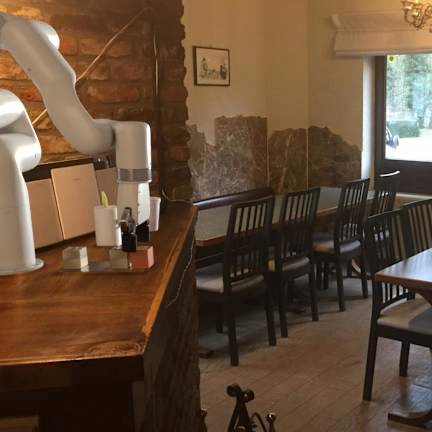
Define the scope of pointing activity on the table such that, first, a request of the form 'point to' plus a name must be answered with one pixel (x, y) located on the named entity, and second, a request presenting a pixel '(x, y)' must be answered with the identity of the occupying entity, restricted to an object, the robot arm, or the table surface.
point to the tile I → (74, 257)
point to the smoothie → (154, 213)
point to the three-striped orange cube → (142, 257)
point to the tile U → (119, 258)
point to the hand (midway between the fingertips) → (136, 246)
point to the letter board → (101, 268)
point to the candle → (106, 224)
